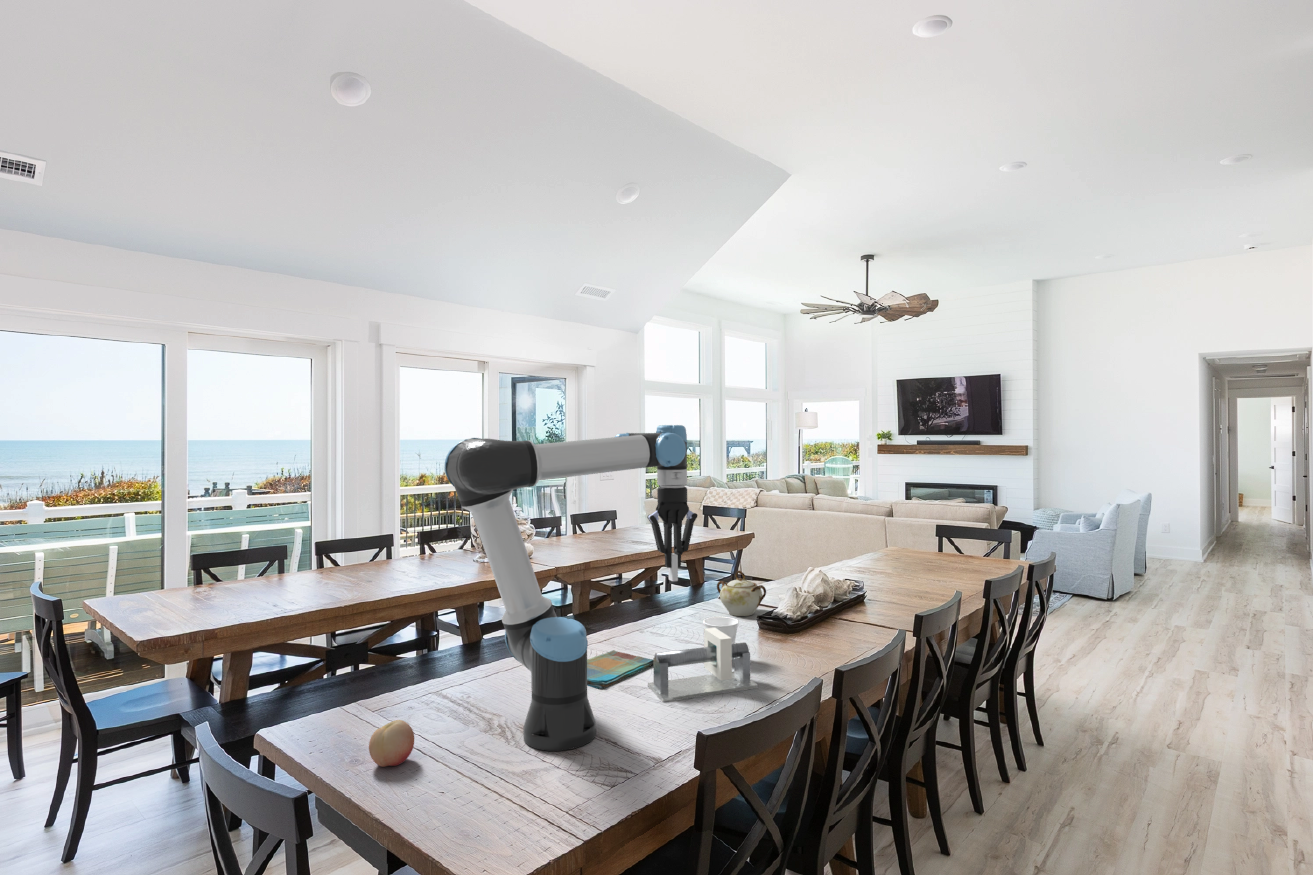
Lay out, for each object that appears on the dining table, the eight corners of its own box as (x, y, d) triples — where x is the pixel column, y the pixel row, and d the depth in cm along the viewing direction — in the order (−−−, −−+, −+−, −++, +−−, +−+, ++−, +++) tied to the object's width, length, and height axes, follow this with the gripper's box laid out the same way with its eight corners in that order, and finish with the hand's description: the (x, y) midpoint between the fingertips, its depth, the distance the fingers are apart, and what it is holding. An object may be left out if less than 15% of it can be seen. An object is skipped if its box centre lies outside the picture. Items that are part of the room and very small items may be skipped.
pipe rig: (662, 701, 165) (662, 659, 165) (647, 686, 175) (647, 646, 175) (757, 688, 173) (757, 647, 173) (738, 673, 184) (737, 635, 184)
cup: (737, 667, 189) (737, 626, 189) (701, 665, 191) (700, 625, 191) (740, 655, 199) (740, 617, 198) (705, 654, 201) (705, 615, 200)
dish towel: (552, 678, 184) (552, 668, 184) (610, 655, 202) (610, 646, 202) (601, 692, 173) (601, 682, 173) (658, 666, 192) (658, 657, 192)
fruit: (382, 753, 140) (382, 713, 139) (421, 755, 139) (420, 714, 139) (361, 773, 132) (361, 730, 132) (402, 774, 131) (401, 732, 131)
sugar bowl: (705, 613, 246) (705, 571, 245) (728, 605, 257) (727, 564, 257) (755, 622, 234) (755, 577, 234) (776, 613, 246) (776, 570, 245)
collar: (720, 680, 170) (720, 639, 170) (704, 667, 180) (704, 628, 180) (731, 678, 172) (731, 638, 171) (715, 666, 181) (714, 627, 181)
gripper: (652, 488, 170) (653, 585, 170) (702, 486, 174) (702, 580, 175) (642, 486, 177) (643, 579, 177) (690, 484, 182) (691, 575, 182)
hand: (673, 580), depth 176 cm, fingers closed
